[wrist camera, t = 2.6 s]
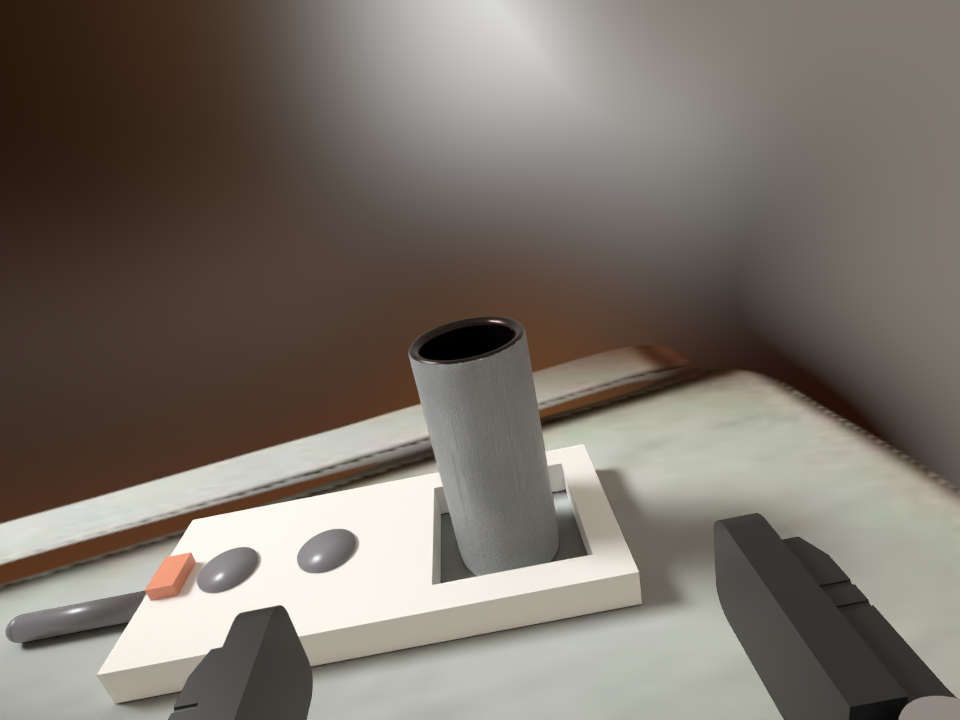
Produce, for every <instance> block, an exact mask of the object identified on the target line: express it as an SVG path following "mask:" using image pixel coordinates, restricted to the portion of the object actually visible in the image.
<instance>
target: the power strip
mask: <svg viewBox="0 0 960 720" xmlns="http://www.w3.org/2000/svg"><path fill="white" fill-rule="evenodd" d="M545 453H546V458H547V464H548V470H549V476H550V482H551V488H552V492H557V491H562V490H566V492H567V495H568V498H569V501H570V504H571V507H572V510H573V513H574V516H575V519H576V523H577V526H578V529H579V532H580V535H581V538H582V541H583V544H584V547H585V550H586V553H587V556H581V557H576V558H571V559H566V560H561V561H555V562H550V563H545V564H540V565H534V566H529V567H524V568H519V569H513V570H508V571H503V572H498V573H493V574H487V575H482V576H477V577H472V578H466V579H461V580H456V581H451V582H445V583H441V514H443V513H448V512H449V509H448V505H447V501H446V497H445V493H444V489H443V485H442V482H441V478H440V474H439V472H438V473H432V474H427V475H422V476H417V477H412V478H407V479H402V480H396V481H391V482H386V483H381V484H376V485H371V486H366V487H361V488H355V489H350V490H345V491H340V492H335V493H330V494H325V495H319V496H314V497H309V498H304V499H299V500H294V501H289V502H283V503H278V504H273V505H268V506H263V507H258V508H253V509H247V510H242V511H237V512H232V513H227V514H222V515H217V516H212V517H206V518H202V519H196V520H193V521H192V522H191V524H190V525H189V527H188V529H187V530H186V532H185V533H184V535H183V537H182V538H181V540H180V541H179V543H178V545H177V546H176V548H175V550H174V551H173V553H172V554H171V556H170V557H166V558H165V559H164V561H163V562H162V564H161V566H160V567H159V569H158V570H157V572H156V573H155V575H154V577H153V578H152V580H151V581H150V583H149V585H148V586H147V588H146V589H145V591H141V592H136V593H131V594H126V595H120V596H115V597H110V598H105V599H100V600H94V601H89V602H84V603H79V604H74V605H68V606H63V607H58V608H53V609H48V610H42V611H37V612H32V613H27V614H22V615H19V616H17V617H15V618H14V619H12V620H11V621H10V623H9V624H8V625H7V628H6V636H7V638H8V639H9V640H10V641H12V642H14V643H22V642H27V641H33V640H38V639H43V638H48V637H53V636H59V635H64V634H69V633H74V632H79V631H85V630H90V629H95V628H100V627H105V626H111V625H116V624H121V623H126V622H129V624H128V625H127V627H126V628H125V630H124V632H123V633H122V635H121V636H120V638H119V640H118V641H117V643H116V644H115V646H114V648H113V649H112V651H111V652H110V654H109V656H108V657H107V659H106V661H105V662H104V664H103V665H102V667H101V669H100V670H99V672H98V673H97V677H98V678H99V680H100V681H101V683H102V684H103V686H104V688H105V689H106V691H107V692H108V694H109V695H110V697H111V698H112V700H113V701H114V703H115V704H116V703H121V702H126V701H132V700H137V699H142V698H147V697H153V696H158V695H163V694H169V693H174V692H179V691H182V689H183V687H184V685H185V682H186V680H187V678H188V677H189V675H190V674H191V673H192V672H193V671H194V669H195V668H196V667H197V666H198V664H199V663H200V662H201V661H202V660H203V658H204V657H205V656H206V655H207V654H208V652H209V651H210V650H211V649H215V648H220V647H223V644H224V642H225V639H226V637H227V635H228V632H229V630H230V628H231V625H232V623H233V621H234V619H235V617H236V616H237V615H238V614H239V613H242V612H247V611H252V610H257V609H262V608H267V607H272V606H277V605H282V606H283V607H285V609H286V610H287V612H288V614H289V616H290V619H291V621H292V623H293V625H294V628H295V630H296V632H297V635H298V637H299V639H300V641H301V644H302V646H303V648H304V650H305V653H306V655H307V657H308V660H309V662H310V666H316V665H322V664H327V663H332V662H337V661H343V660H348V659H353V658H359V657H364V656H369V655H374V654H380V653H385V652H390V651H396V650H401V649H406V648H411V647H417V646H422V645H427V644H432V643H438V642H443V641H448V640H454V639H459V638H464V637H469V636H475V635H480V634H485V633H491V632H496V631H501V630H506V629H512V628H517V627H522V626H528V625H533V624H538V623H543V622H549V621H554V620H559V619H564V618H570V617H575V616H580V615H586V614H591V613H596V612H601V611H607V610H612V609H617V608H623V607H628V606H633V605H638V604H642V597H641V587H640V577H639V571H638V569H637V566H636V564H635V562H634V559H633V557H632V555H631V552H630V550H629V548H628V545H627V543H626V541H625V539H624V536H623V534H622V532H621V529H620V527H619V525H618V522H617V520H616V518H615V516H614V513H613V511H612V509H611V506H610V504H609V502H608V499H607V497H606V495H605V492H604V490H603V488H602V486H601V483H600V481H599V479H598V476H597V474H596V472H595V469H594V467H593V465H592V463H591V460H590V458H589V456H588V453H587V451H586V449H585V446H584V444H581V445H576V446H571V447H566V448H561V449H556V450H551V451H545Z"/></svg>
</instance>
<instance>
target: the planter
mask: <svg viewBox="0 0 960 720" xmlns="http://www.w3.org/2000/svg"><path fill="white" fill-rule="evenodd" d="M409 357H410V361H411V365H412V369H413V373H414V377H415V381H416V385H417V389H418V392H419V397H420V400H421V404H422V408H423V412H424V416H425V420H426V424H427V427H428V431H429V435H430V439H431V443H432V447H433V451H434V455H435V458H436V462H437V466H438V470H439V474H440V478H441V482H442V485H443V489H444V493H445V497H446V501H447V505H448V509H449V513H450V516H451V520H452V524H453V528H454V532H455V536H456V540H457V543H458V547H459V551H460V554H461V557H462V560H463V562H464V564H465V566H466V567H467V568H468V569H469V570H470V571H471V572H472V573H473V574H475V575H477V576H482V575H487V574H493V573H498V572H503V571H508V570H513V569H519V568H524V567H529V566H534V565H540V564H545V563H550V562H551V561H552V559H553V558H554V556H555V555H556V553H557V550H558V547H559V532H558V524H557V518H556V512H555V506H554V500H553V494H552V488H551V482H550V476H549V470H548V464H547V458H546V453H545V447H544V441H543V435H542V429H541V423H540V417H539V411H538V405H537V399H536V393H535V387H534V381H533V375H532V369H531V363H530V357H529V351H528V345H527V339H526V334H525V329H524V327H523V326H522V325H521V324H520V323H519V322H517V321H516V320H513V319H510V318H506V317H498V316H483V317H474V318H467V319H462V320H458V321H454V322H450V323H447V324H444V325H441V326H438V327H436V328H434V329H432V330H430V331H428V332H426V333H424V334H423V335H421V336H420V337H418V338H417V339H416V340H415V341H414V342H413V343H412V345H411V346H410V349H409Z"/></svg>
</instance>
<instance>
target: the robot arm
mask: <svg viewBox="0 0 960 720" xmlns="http://www.w3.org/2000/svg"><path fill="white" fill-rule="evenodd" d="M714 548H715V569H716V586H717V592H718V596H719V600H720V603H721V606H722V609H723V611H724V614H725V616H726V618H727V620H728V622H729V624H730V625H731V627H732V629H733V631H734V633H735V634H736V636H737V638H738V640H739V641H740V643H741V645H742V647H743V648H744V650H745V652H746V654H747V655H748V657H749V659H750V661H751V662H752V664H753V666H754V668H755V670H756V671H757V673H758V675H759V677H760V678H761V680H762V682H763V684H764V685H765V687H766V689H767V691H768V692H769V694H770V696H771V698H772V699H773V701H774V703H775V705H776V707H777V708H778V710H779V712H780V714H781V715H782V717H783V719H784V720H960V699H958V698H957V697H955V696H954V695H953V694H952V693H951V692H950V691H949V690H948V689H947V688H946V687H945V686H944V685H943V683H942V682H941V681H940V680H939V679H938V678H937V677H936V676H935V674H934V673H933V672H932V671H931V670H930V669H929V668H928V667H927V665H926V664H925V663H924V662H923V661H922V660H921V659H920V658H919V656H918V655H917V654H916V653H915V652H914V651H913V650H912V649H911V647H910V646H909V645H908V644H907V643H906V642H905V641H904V639H903V638H902V637H901V636H900V635H899V634H898V633H897V632H896V630H895V629H894V628H893V627H892V626H891V625H890V624H889V623H888V621H887V620H886V619H885V618H884V617H883V616H882V615H881V614H880V612H879V611H878V610H877V609H876V608H875V607H874V606H871V605H870V604H869V601H868V599H867V598H866V597H865V596H864V594H863V593H862V592H861V591H860V590H859V589H858V588H857V587H856V585H855V584H854V585H852V583H851V581H850V579H849V578H848V576H847V575H846V574H845V573H844V572H843V571H842V570H841V569H840V567H839V566H838V565H837V564H836V563H835V562H834V561H833V560H832V558H831V557H830V556H829V555H828V554H826V553H824V552H823V551H821V550H819V549H818V548H816V547H815V546H813V545H811V544H810V543H808V542H806V541H805V540H803V539H801V538H800V537H794V538H789V539H784V540H782V539H781V538H780V537H779V535H778V534H777V533H776V532H775V531H774V529H773V528H772V527H771V526H770V524H769V523H768V522H767V521H766V519H765V518H764V517H763V516H762V515H760V514H758V513H755V514H750V515H744V516H739V517H734V518H729V519H724V520H719V521H716V522H715V524H714ZM312 687H313V681H312V671H311V666H310V662H309V660H308V657H307V655H306V653H305V650H304V648H303V646H302V644H301V641H300V639H299V637H298V635H297V632H296V630H295V628H294V625H293V623H292V621H291V619H290V616H289V614H288V612H287V610H286V609H285V607H283V606H282V605H277V606H272V607H267V608H262V609H257V610H252V611H247V612H242V613H239V614H238V615H237V616H236V617H235V619H234V621H233V623H232V625H231V628H230V630H229V632H228V635H227V637H226V639H225V642H224V644H223V647H220V648H215V649H211V650H210V651H209V652H208V654H207V655H206V656H205V657H204V658H203V660H202V661H201V662H200V663H199V664H198V666H197V667H196V668H195V669H194V671H193V672H192V673H191V674H190V675H189V677H188V678H187V680H186V682H185V685H184V687H183V689H182V691H181V693H180V695H179V698H178V700H177V702H176V704H175V706H174V713H172V714H171V715H170V717H169V719H168V720H307V715H308V711H309V707H310V702H311V697H312Z"/></svg>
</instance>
